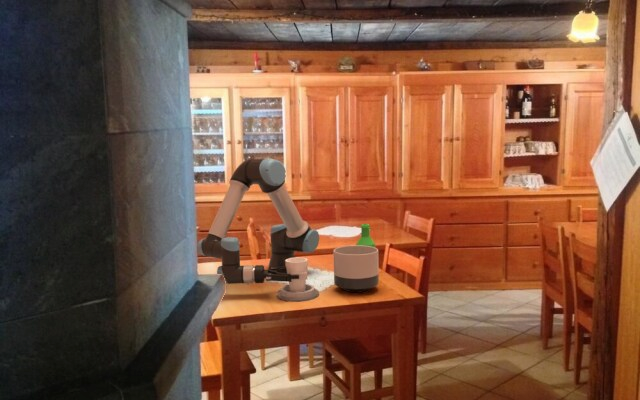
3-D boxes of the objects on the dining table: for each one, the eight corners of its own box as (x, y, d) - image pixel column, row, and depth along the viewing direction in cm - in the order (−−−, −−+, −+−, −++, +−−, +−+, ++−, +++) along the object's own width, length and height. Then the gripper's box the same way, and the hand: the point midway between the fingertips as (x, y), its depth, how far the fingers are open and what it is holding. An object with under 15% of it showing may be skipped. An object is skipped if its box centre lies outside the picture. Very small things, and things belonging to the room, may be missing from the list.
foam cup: (313, 289, 228) (312, 259, 226) (297, 294, 221) (296, 263, 220) (297, 285, 234) (296, 256, 233) (281, 290, 228) (280, 260, 226)
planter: (384, 294, 226) (384, 252, 224) (340, 298, 222) (339, 256, 220) (371, 282, 245) (370, 244, 243) (329, 285, 241) (328, 246, 239)
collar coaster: (268, 294, 229) (267, 288, 229) (301, 286, 241) (301, 279, 240) (293, 304, 215) (293, 297, 215) (327, 294, 227) (327, 288, 227)
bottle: (374, 278, 251) (373, 225, 248) (355, 278, 252) (354, 225, 249) (376, 273, 259) (375, 222, 256) (358, 273, 261) (357, 222, 258)
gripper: (257, 276, 238) (308, 274, 238) (251, 290, 216) (307, 289, 216) (257, 259, 237) (307, 258, 238) (250, 272, 215) (306, 270, 215)
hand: (307, 272), depth 227 cm, fingers open, 10 cm apart
